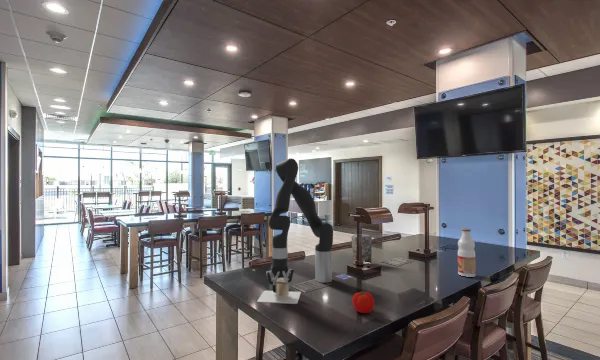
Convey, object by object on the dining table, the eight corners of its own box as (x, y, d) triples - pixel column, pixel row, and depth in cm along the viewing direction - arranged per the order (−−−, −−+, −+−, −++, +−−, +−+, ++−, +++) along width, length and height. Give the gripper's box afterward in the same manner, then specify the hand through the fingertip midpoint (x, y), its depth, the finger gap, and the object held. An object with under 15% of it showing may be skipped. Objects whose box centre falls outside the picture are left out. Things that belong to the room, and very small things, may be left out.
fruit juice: (471, 279, 176) (471, 230, 177) (455, 275, 183) (454, 229, 184) (478, 276, 182) (477, 229, 183) (462, 272, 189) (461, 227, 190)
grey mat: (301, 292, 155) (301, 291, 155) (297, 303, 140) (297, 303, 140) (264, 291, 157) (264, 290, 157) (256, 302, 142) (256, 301, 142)
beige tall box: (278, 285, 142) (271, 278, 154) (278, 296, 142) (271, 288, 153) (288, 284, 144) (281, 277, 155) (288, 294, 144) (281, 287, 155)
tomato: (371, 307, 136) (371, 288, 136) (377, 316, 126) (377, 296, 126) (350, 307, 136) (350, 288, 136) (355, 317, 126) (355, 296, 126)
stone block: (357, 266, 206) (357, 236, 206) (351, 264, 212) (350, 235, 212) (372, 264, 211) (372, 235, 212) (366, 261, 218) (366, 233, 218)
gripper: (291, 253, 155) (291, 287, 155) (263, 256, 150) (263, 290, 150) (296, 256, 148) (296, 292, 148) (267, 259, 143) (267, 296, 143)
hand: (279, 291), depth 149 cm, fingers closed on beige tall box, 5 cm apart
